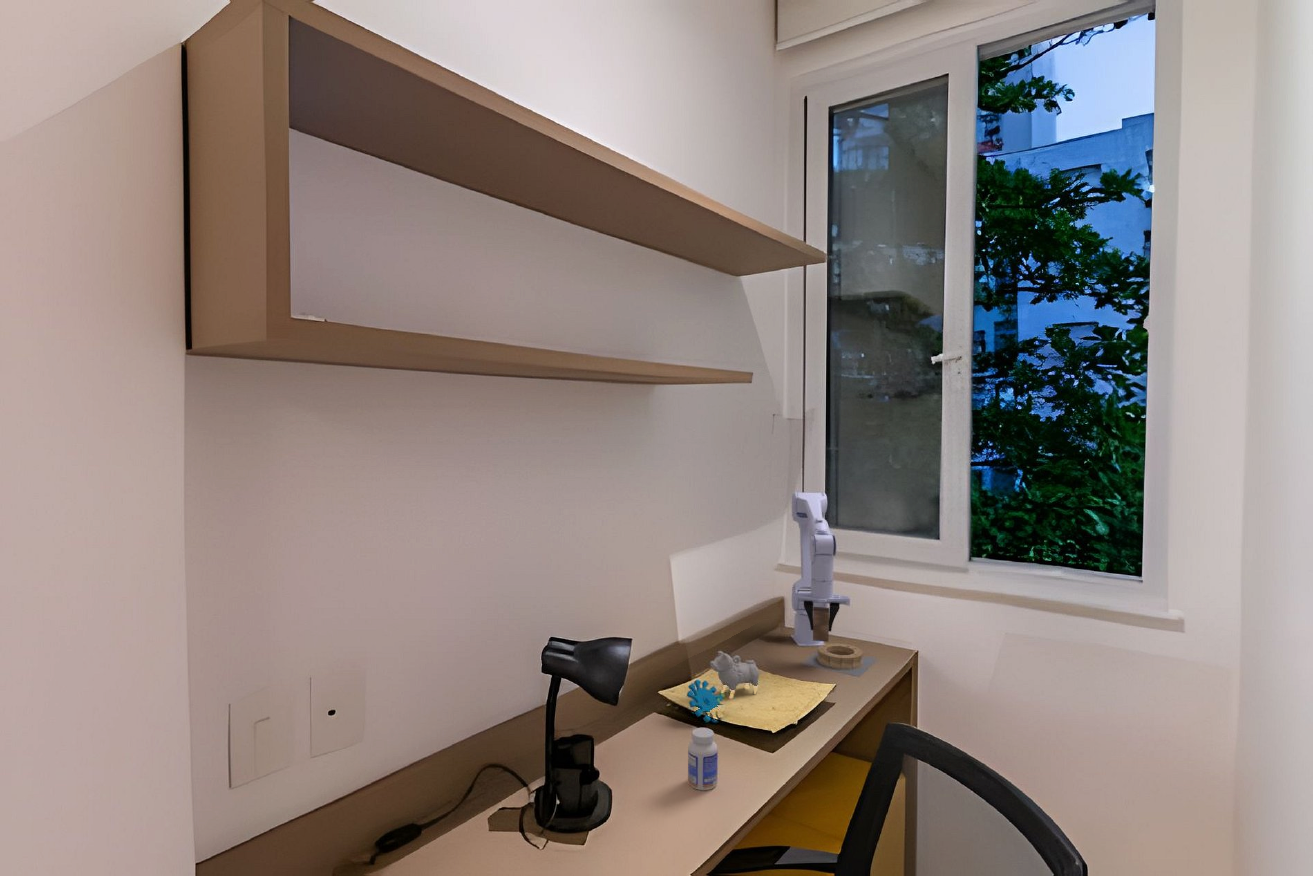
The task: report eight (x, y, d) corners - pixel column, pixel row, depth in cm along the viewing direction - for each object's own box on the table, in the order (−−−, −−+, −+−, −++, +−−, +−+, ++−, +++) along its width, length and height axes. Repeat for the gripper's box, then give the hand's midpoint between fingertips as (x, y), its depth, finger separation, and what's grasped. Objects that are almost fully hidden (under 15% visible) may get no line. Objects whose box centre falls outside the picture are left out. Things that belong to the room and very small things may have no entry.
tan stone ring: (813, 654, 204) (813, 643, 204) (853, 653, 205) (854, 643, 205) (825, 669, 193) (825, 658, 192) (868, 668, 193) (868, 657, 193)
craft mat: (822, 648, 210) (822, 647, 210) (878, 660, 201) (878, 658, 201) (800, 665, 196) (800, 663, 196) (859, 678, 188) (859, 676, 188)
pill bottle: (719, 778, 137) (719, 727, 137) (715, 793, 132) (716, 740, 131) (690, 774, 138) (691, 724, 138) (685, 789, 133) (686, 737, 133)
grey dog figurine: (705, 694, 177) (705, 650, 176) (750, 686, 182) (751, 644, 181) (715, 702, 172) (716, 657, 171) (762, 694, 177) (762, 650, 177)
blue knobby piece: (703, 723, 157) (683, 680, 162) (687, 736, 160) (668, 694, 165) (737, 716, 164) (717, 675, 170) (721, 728, 167) (702, 688, 173)
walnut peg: (812, 640, 194) (813, 610, 194) (812, 635, 198) (813, 606, 198) (828, 641, 193) (829, 611, 193) (828, 637, 197) (828, 607, 197)
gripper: (793, 581, 192) (792, 632, 193) (850, 584, 189) (849, 636, 190) (794, 575, 199) (793, 624, 200) (849, 578, 196) (848, 628, 197)
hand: (820, 629), depth 196 cm, fingers closed on walnut peg, 4 cm apart
